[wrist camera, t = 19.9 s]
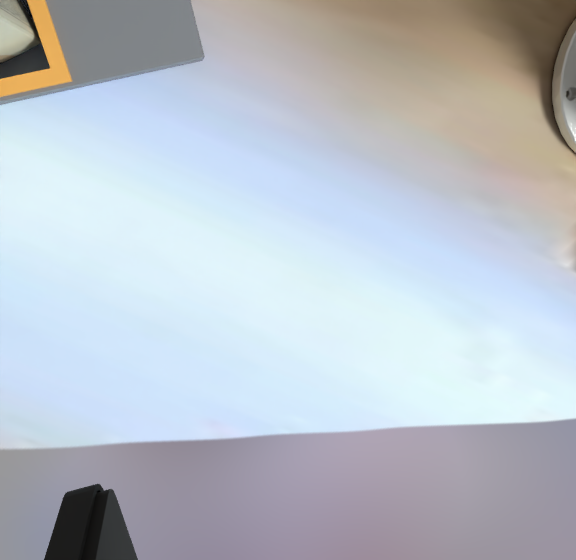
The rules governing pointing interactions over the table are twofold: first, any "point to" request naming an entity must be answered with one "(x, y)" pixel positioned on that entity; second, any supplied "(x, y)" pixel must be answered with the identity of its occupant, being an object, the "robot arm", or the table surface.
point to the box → (16, 30)
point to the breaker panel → (105, 43)
